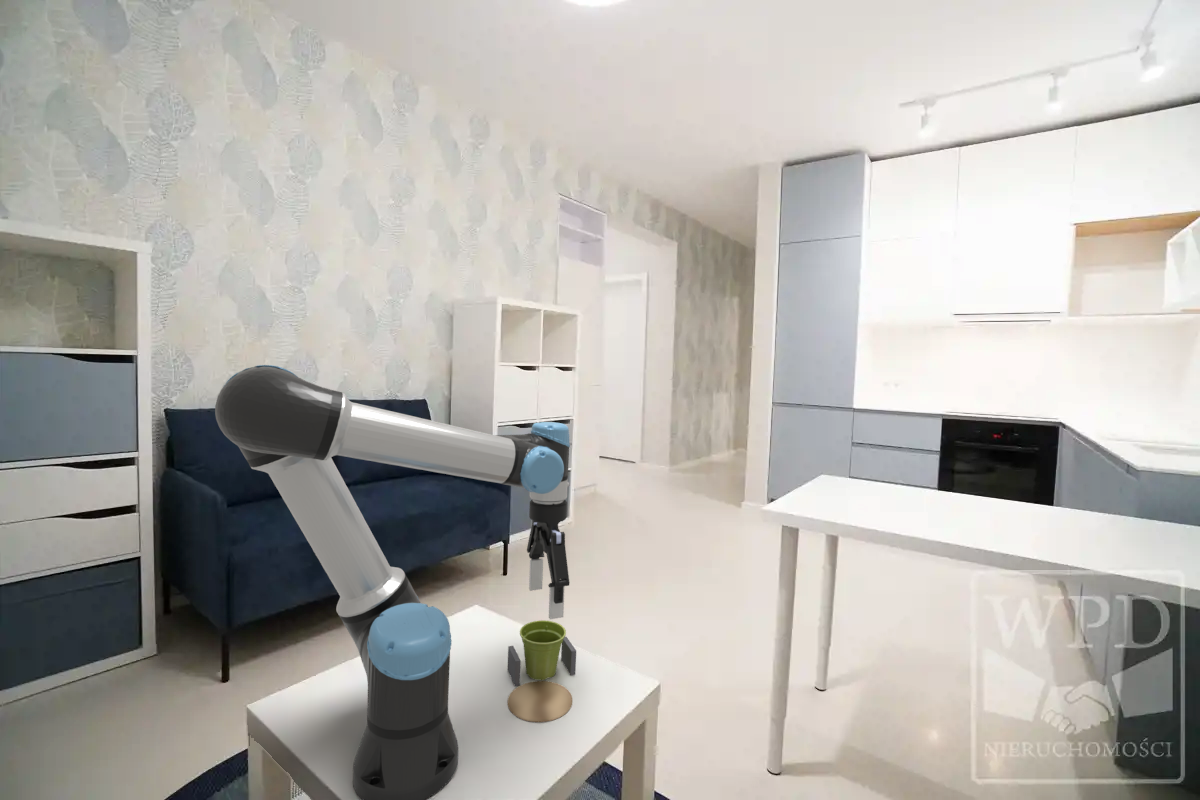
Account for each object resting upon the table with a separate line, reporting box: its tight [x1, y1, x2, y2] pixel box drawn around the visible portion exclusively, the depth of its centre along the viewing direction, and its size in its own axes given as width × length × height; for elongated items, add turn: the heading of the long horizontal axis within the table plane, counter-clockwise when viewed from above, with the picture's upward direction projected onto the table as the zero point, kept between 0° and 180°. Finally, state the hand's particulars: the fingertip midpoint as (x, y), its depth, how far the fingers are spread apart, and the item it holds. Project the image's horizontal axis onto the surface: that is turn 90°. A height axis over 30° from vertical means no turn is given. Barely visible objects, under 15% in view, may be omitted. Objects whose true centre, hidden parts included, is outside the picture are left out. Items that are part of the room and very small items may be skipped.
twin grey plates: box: [506, 636, 577, 687], centre depth 109 cm, size 13×6×5 cm, turn 113°
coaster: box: [507, 680, 573, 723], centre depth 99 cm, size 12×12×1 cm
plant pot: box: [519, 619, 567, 681], centre depth 109 cm, size 9×9×9 cm
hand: (545, 602), depth 108 cm, fingers open, 13 cm apart
